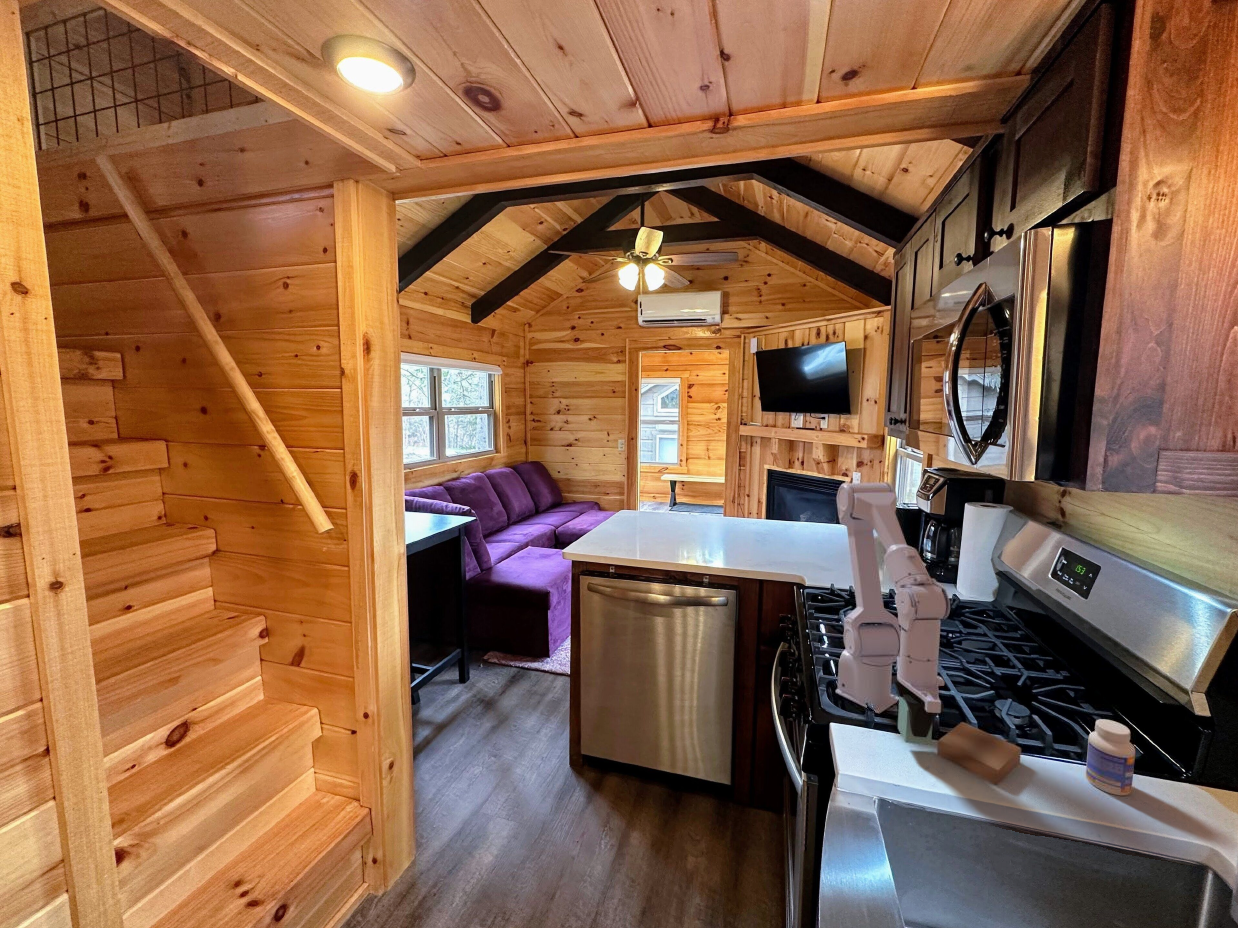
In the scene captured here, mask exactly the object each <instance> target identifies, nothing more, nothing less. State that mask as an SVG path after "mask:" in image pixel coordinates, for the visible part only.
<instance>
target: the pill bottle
mask: <svg viewBox="0 0 1238 928" xmlns="http://www.w3.org/2000/svg"><path fill="white" fill-rule="evenodd" d="M1087 739H1088V741H1087V744H1088V745H1087V754H1086V755H1087V756H1086V766H1085V778H1086V779H1087V781H1088V782H1089V783H1090V784H1091V785H1093V786H1094V787H1095V788H1097V789H1099V790H1101V791H1103V792H1105V793H1109V794H1112V795H1115V796H1127V795H1129V794H1131V792H1132V787H1133V780H1134V779H1133V778H1134V768H1135V760H1136V759H1135V758H1136V748H1135V746H1134V745H1133V744H1132V743H1131V742H1130V740H1131V730H1130V729H1129V728H1128V726H1126V725H1124V724H1122V723H1120V722H1117V721H1114V720H1111V719H1105V718H1103V719H1102V718H1100V719H1097V720H1095V726H1094V731H1092V732H1090V733H1089V735H1088V738H1087Z"/></svg>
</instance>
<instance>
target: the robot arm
mask: <svg viewBox="0 0 1238 928" xmlns="http://www.w3.org/2000/svg"><path fill="white" fill-rule="evenodd" d="M897 506H898V497H897V491H896V489H895V487H894V486H893V484H891V483H890V482H888V481H884V482H861V483H860V482H855V483H850V482H844V483H842V484H840V486H839V488H838V490H837V495H836V507H837V515H838V521H839V524H841V525H843V526H844V527H846V532H847V539H848V548H849V556H850V563H851V571H852V579H853V587H854V595H855V603H856V607H855V608H854V609H853V610H852V611H851V612H850V613H849V614H847V615H846V616H845V617H844V619H843V620H844V621H843V623H844V627H843V628H844V629H843V630H844V631H843V643H844V647H845V649H844V650H843V651H842V653H841V655H840V656H839V657H840V658H839V660H838V671H837V672H838V673H837V688H836V690H835V693H836V694H838V695H839V696H841V697H844V698H846V699H848V700H850V701H852V702H854V703H856V704H858V705H860V706H862V707H864V708H866V709H868V708H867V705H866V703H867V702H870V703H872V704H873V706H874V711H875V712H874V711H873V712H874V713H876V714H881V713H882V712H884V711H886V710H887V709H889V708H890V707H891V706H893V705H895V704H896V703H897V701H898V700H899V697H904V699H905V701H906V703H907V706H908V710H909V714H910V724H911V731H912V734H913V736H915V737H927V735H928V733H929V730H930V728H931V725H932V726H933V724H934V721H935V719H936V718H937V716H938V715H939V714H941V712H942V711H943V710H944V705H945V704H944V703H943V702H942V700H941V699H940V697H939V687H941V686H942V687H943V686H945V681H944V679H943V678H942V677H941V676H940V675H938V669H939V651H940V637H941V636H940V635H941V622H942V621H941V620H945V619H947V618H948V616H949V615H950V611H951V601H950V598H949V595H948V592H947V589H946V588H945V587H944V586H943V585H942V584H941V583H939V582H938V581H937V580H936V579H935V578H932V577H931V576H930V574H929V573H928V571H927V569H926V567H925V564H924V562H923V559H922V558H921V556H920V553H919V552H918V550H917V549H916V548H915V547H912V546H910V545H908V544H907V542H906V539H905V535H904V533H903V531H902V528H901V526H900V522H899V520H898V517H897V515H896V510H897ZM874 532H875V533H876V535H877V536H878V538H879V540H880V542H881V544H882V545H883V548H884V550H885V551H886V553H885V555H884V556H883V562H884V564H885V566H886V568H887V571H888V573H889V576H890V578H891V581H892V582H893V585H894V587H895V589H896V595H895V594H894V603H895V606H896V610H897V617H896V616H895V615H893V614H892V613H890V612H889V611H888V610H886V609H885V607H884V600H883V593H882V592H883V591H882V586H881V585H882V584H881V578H880V572H879V564H878V563H879V562H878V555H877V549H876V543H875V542H876V541H875V533H874ZM865 623H881V624H865ZM895 662H896V667H897V673H896V675H892V674H893V673H892V672H893V663H895ZM892 681H893V684H894V686H895V689H896V693H897V695H898V696H897V695H894V694H892ZM898 702H899V701H898Z"/></svg>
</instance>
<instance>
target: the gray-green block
mask: <svg viewBox="0 0 1238 928" xmlns="http://www.w3.org/2000/svg"><path fill="white" fill-rule="evenodd" d="M898 697H899V696H898ZM897 729H898V732H899V733H900V735H901V736H902V740H903V741H904V742H905V743H906V744H907V743H908V744H919V745H929V746H930V745H932V736H933V735H932V733H933V724H932V725H931V728H930V730H929V733H928V735H927V737H915V736H913V734H912V731H911V724H910V714H909V710H908V706H907V703H906V701H905V699H904V697H899V701H898V716H897Z"/></svg>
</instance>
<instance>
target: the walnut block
mask: <svg viewBox="0 0 1238 928" xmlns="http://www.w3.org/2000/svg"><path fill="white" fill-rule="evenodd" d="M936 750H937V751H936V755H938V756H939V757H941V758H943V759H945V760H946V761H949V762H951V763H952V764H955V765H957V766H958V767H960V768H962V769H965V770H966V771H969V772H971V773H972V774H974V775H977V776H978V777H980V778H982V779H984V780H986V781H988V782H990V783H992V784H993V785H996V786H998V785H1000V783H1001V782H1002V781H1003V780H1004V779H1005V778H1006V777H1007V776H1008V775H1009V774H1010V773H1011V772H1012V771H1013V770H1014V769H1015V768H1016V767H1017V766H1018V765H1019V764H1020V763H1021V757H1022V756H1021V755H1022V754H1021V753H1022V747H1020V746H1017V745H1015V744H1014V743H1011V742H1009V741H1006V740H1004V739H1002V738H1000V737H997V736H996V735H994V734H991V733H989V732H986V731H984V730H982V729H979V728H977V727H975V726H972V725H970V724H968V723H966V722H963V721H961V722H960V723H958V724H957V725H956V726H955V727H953V729H951V730H949V731H948V732H947V733H946V734H945V735H943V736H942V737H940V738H939V739H938V740H937V749H936Z"/></svg>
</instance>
